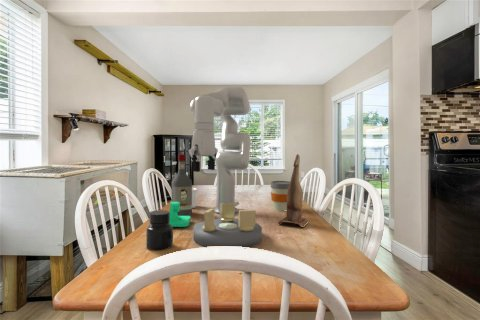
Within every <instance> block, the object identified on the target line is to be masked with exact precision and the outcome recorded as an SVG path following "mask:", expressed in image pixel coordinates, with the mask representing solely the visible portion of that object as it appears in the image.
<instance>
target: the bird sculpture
mask: <svg viewBox="0 0 480 320" xmlns="http://www.w3.org/2000/svg"><path fill="white" fill-rule="evenodd" d="M300 159H301V157H300V155H299V154H296V155H295V159H294V161H293V162H294V163H293V165H292V166H293V170H292V174H291V177H290V180H289V182H290V184H289V188H288V192H287V211H286V216H285V217H284V218H282V219H280V220H279V221H278V223H277V225H278V224H279V225H281V224H282V223H283V222H284V223H293V224H297V225H298V226H299V227H302V226H304V225H305V224H306V223H307V222H308V223H309V219H308V218H306V217H305V218H304V217H302V216H303V188H302V185H301V182H300V165H301V164H300V161H301V160H300ZM280 223H281V224H280Z"/></svg>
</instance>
